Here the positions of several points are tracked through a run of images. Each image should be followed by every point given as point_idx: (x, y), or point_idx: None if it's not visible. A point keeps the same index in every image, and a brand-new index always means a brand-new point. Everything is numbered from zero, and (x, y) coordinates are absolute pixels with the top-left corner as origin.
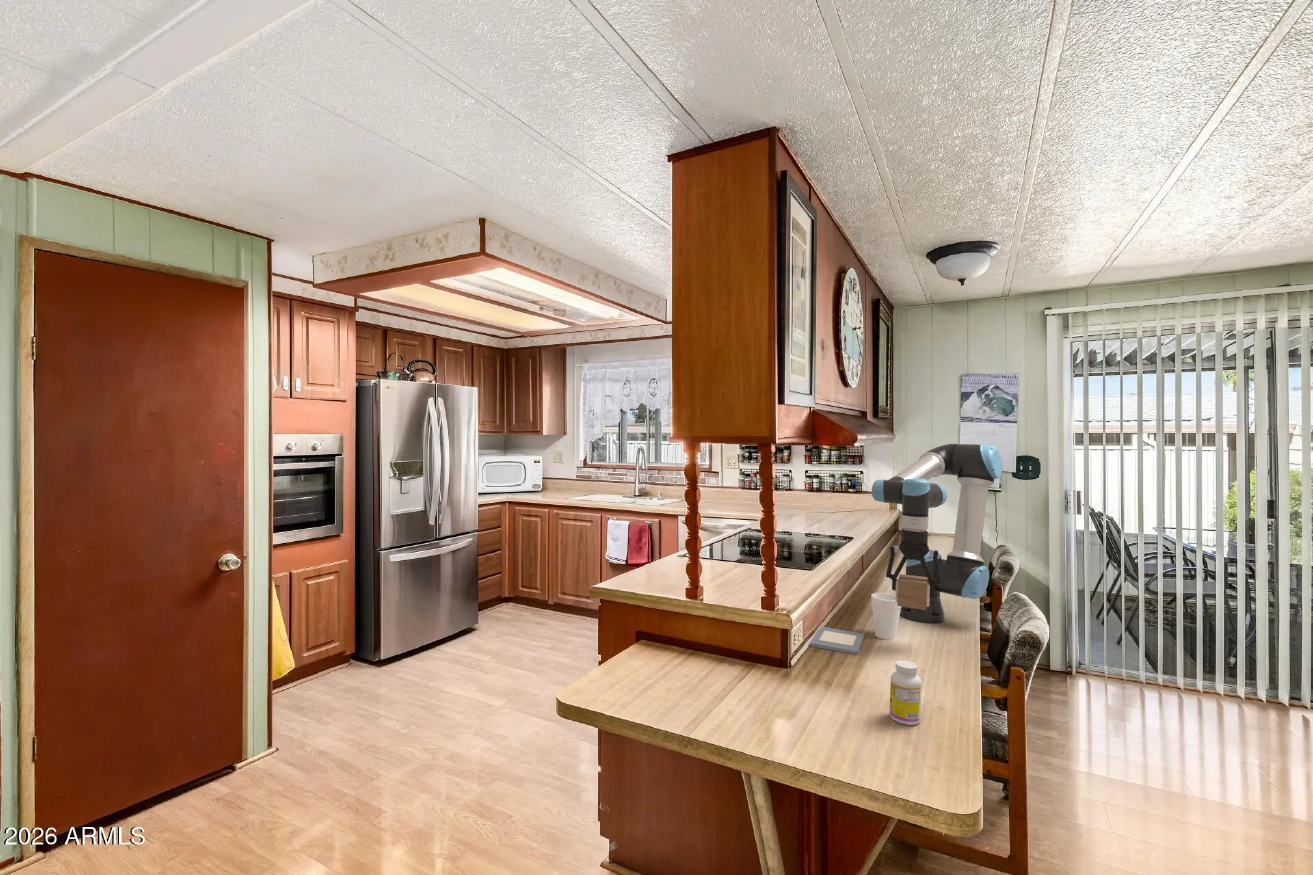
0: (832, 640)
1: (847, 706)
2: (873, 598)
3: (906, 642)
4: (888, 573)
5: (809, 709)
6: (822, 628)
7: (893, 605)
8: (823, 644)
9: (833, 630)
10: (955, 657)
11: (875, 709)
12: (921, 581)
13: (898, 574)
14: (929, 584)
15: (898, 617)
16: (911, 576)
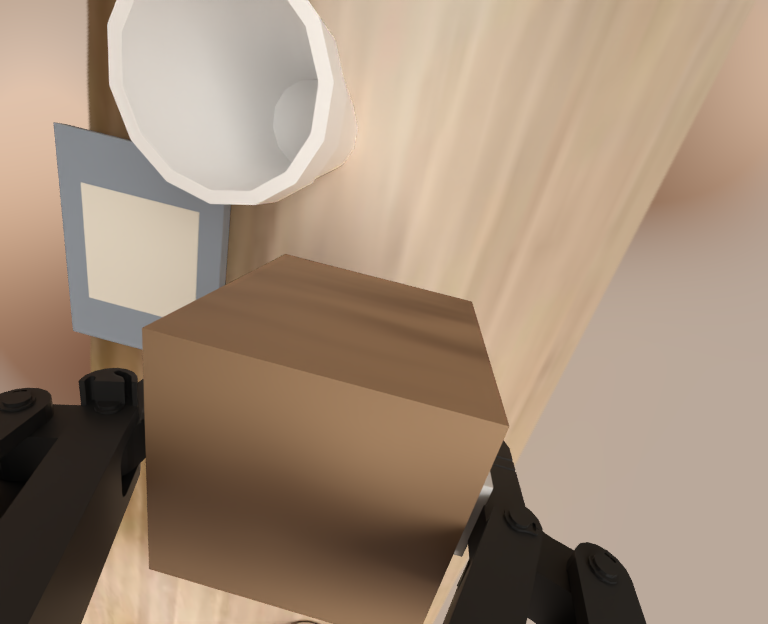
0: (128, 292)
1: (219, 607)
2: (137, 139)
3: (393, 186)
4: (6, 497)
5: (162, 619)
6: (66, 152)
7: (278, 198)
8: (111, 334)
9: (109, 165)
10: (542, 310)
11: (265, 613)
12: (370, 597)
13: (113, 534)
14: (468, 532)
15: (340, 151)
16: (288, 423)
